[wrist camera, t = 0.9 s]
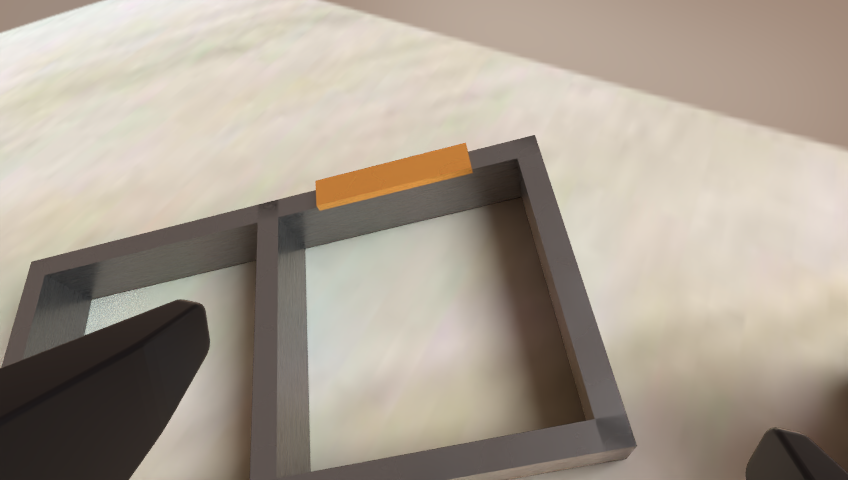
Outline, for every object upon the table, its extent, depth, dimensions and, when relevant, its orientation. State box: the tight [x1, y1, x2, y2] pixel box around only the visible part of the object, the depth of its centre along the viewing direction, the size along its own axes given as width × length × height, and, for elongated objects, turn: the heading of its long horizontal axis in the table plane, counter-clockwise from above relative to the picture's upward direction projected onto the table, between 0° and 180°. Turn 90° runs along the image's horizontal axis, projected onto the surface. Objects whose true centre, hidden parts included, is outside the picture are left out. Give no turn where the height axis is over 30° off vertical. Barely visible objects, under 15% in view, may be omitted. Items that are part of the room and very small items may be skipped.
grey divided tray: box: [2, 135, 637, 480], centre depth 22 cm, size 13×25×3 cm, turn 98°
